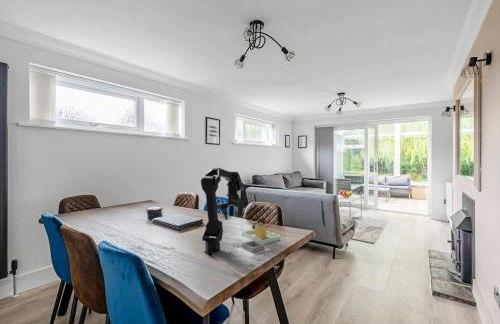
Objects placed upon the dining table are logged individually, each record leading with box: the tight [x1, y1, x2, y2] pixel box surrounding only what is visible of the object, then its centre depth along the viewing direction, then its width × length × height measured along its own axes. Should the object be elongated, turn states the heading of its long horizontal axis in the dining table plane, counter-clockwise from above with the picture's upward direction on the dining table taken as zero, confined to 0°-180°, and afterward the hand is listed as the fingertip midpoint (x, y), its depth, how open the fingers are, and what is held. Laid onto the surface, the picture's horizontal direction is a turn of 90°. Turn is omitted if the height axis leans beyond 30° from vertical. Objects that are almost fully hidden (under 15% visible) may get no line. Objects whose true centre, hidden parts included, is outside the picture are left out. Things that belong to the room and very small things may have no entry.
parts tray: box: [241, 228, 282, 245], centre depth 150 cm, size 13×20×3 cm, turn 36°
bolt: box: [251, 218, 266, 230], centre depth 172 cm, size 6×5×15 cm
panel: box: [236, 240, 272, 257], centre depth 130 cm, size 14×12×4 cm
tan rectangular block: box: [254, 222, 268, 240], centre depth 149 cm, size 4×6×8 cm, turn 36°
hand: (233, 218), depth 150 cm, fingers open, 9 cm apart
